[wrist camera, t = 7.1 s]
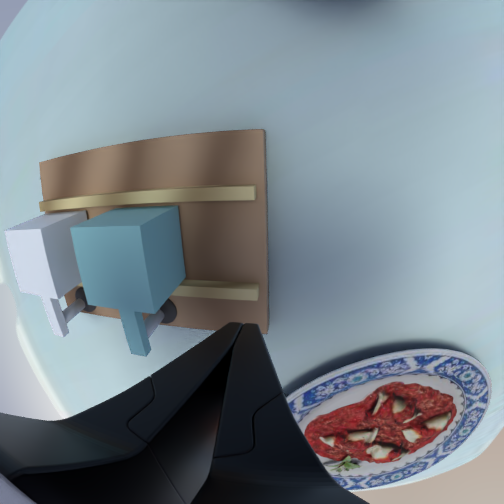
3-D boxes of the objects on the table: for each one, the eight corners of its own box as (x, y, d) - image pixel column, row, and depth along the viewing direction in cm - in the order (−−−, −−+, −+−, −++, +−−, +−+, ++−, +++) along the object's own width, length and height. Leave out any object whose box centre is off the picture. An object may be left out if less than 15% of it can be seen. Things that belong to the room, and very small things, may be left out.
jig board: (265, 130, 17) (260, 128, 15) (268, 325, 22) (265, 342, 20) (48, 160, 20) (31, 164, 18) (75, 303, 25) (62, 314, 23)
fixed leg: (85, 210, 20) (40, 228, 15) (107, 314, 23) (75, 346, 18) (46, 213, 21) (4, 230, 16) (68, 307, 24) (36, 334, 19)
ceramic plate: (410, 276, 19) (423, 294, 17) (507, 397, 22) (515, 412, 19) (214, 429, 29) (207, 449, 26) (355, 490, 31) (356, 505, 28)
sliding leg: (177, 205, 18) (139, 225, 14) (192, 325, 22) (167, 367, 17) (115, 208, 19) (70, 227, 15) (136, 318, 22) (104, 354, 18)
